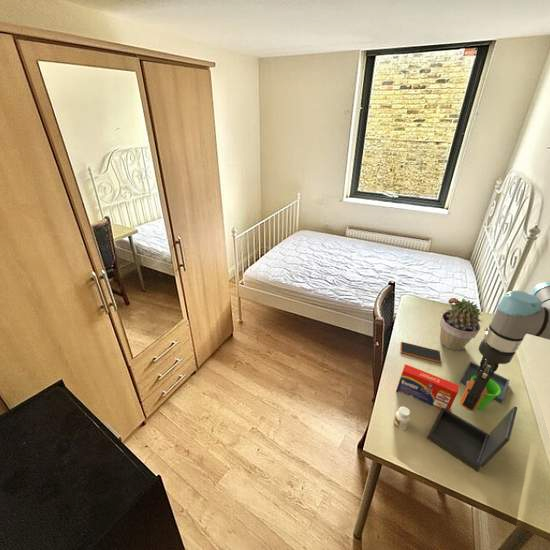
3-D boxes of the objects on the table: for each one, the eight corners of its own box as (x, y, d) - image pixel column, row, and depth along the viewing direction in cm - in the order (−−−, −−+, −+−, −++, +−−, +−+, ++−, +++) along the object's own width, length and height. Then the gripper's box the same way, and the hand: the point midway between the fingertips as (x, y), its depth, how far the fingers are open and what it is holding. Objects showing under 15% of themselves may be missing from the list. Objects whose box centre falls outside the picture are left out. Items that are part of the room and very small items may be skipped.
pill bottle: (391, 418, 103) (396, 404, 100) (403, 419, 103) (408, 405, 99) (395, 430, 100) (400, 416, 96) (408, 431, 99) (413, 417, 96)
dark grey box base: (426, 439, 97) (428, 433, 95) (439, 413, 106) (442, 407, 104) (476, 473, 88) (480, 467, 87) (486, 441, 97) (490, 435, 95)
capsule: (479, 404, 91) (488, 387, 87) (475, 415, 88) (485, 397, 84) (461, 394, 94) (469, 377, 90) (456, 404, 91) (464, 387, 87)
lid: (506, 438, 78) (509, 440, 78) (514, 405, 87) (517, 407, 87) (479, 465, 87) (482, 467, 86) (489, 433, 95) (492, 435, 95)
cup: (494, 415, 105) (507, 395, 100) (470, 415, 105) (481, 395, 100) (479, 394, 113) (490, 374, 108) (456, 394, 113) (466, 374, 108)
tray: (507, 383, 118) (509, 380, 117) (501, 404, 110) (503, 400, 109) (468, 364, 126) (470, 361, 125) (459, 382, 118) (461, 378, 117)
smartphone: (400, 342, 138) (400, 341, 137) (439, 352, 133) (439, 350, 132) (400, 353, 132) (400, 351, 131) (441, 363, 127) (441, 362, 126)
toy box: (448, 406, 108) (458, 384, 103) (447, 414, 105) (457, 392, 100) (398, 384, 117) (404, 363, 111) (395, 391, 114) (402, 370, 108)
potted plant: (486, 353, 133) (508, 308, 120) (449, 360, 129) (469, 314, 116) (456, 328, 148) (473, 286, 136) (423, 333, 144) (437, 291, 132)
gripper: (490, 322, 87) (464, 377, 98) (475, 354, 75) (447, 412, 86) (521, 334, 82) (490, 390, 94) (510, 370, 71) (476, 428, 82)
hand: (470, 400), depth 90 cm, fingers closed on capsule, 5 cm apart
